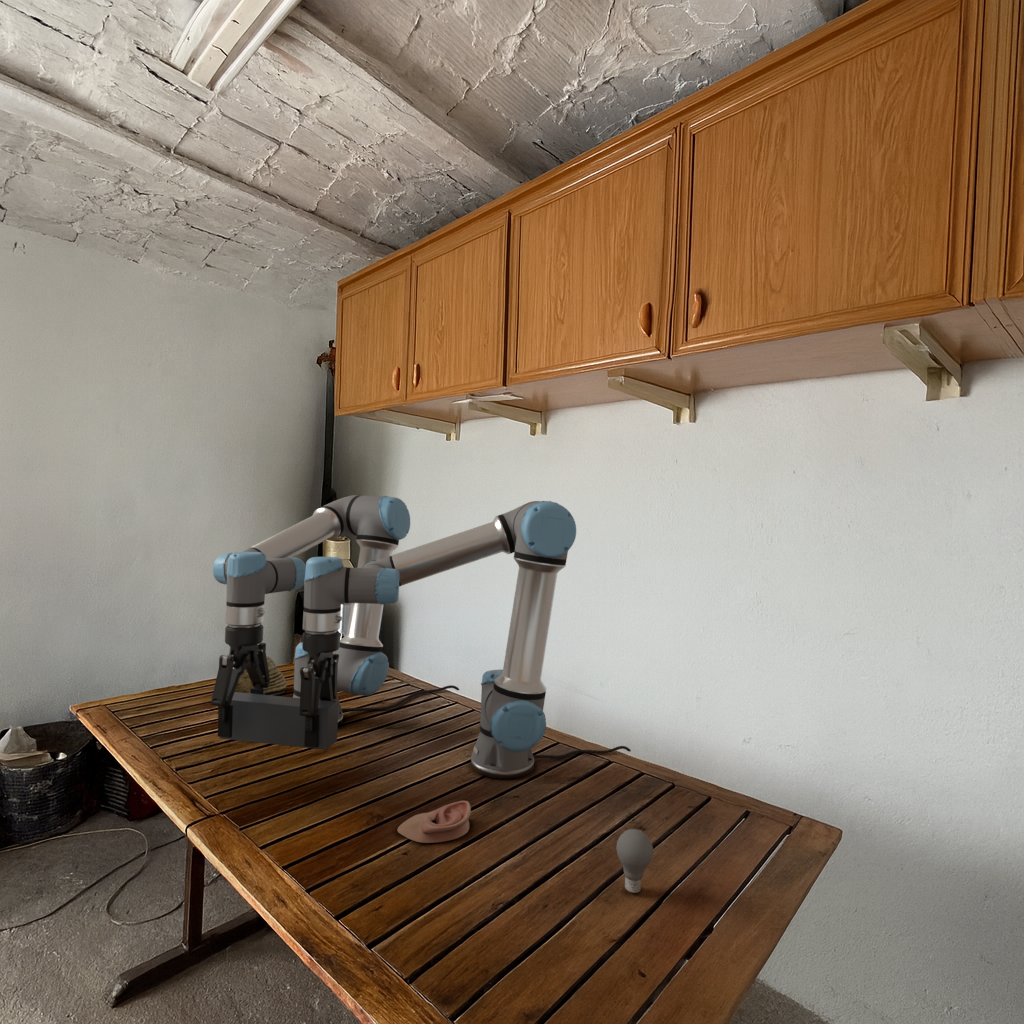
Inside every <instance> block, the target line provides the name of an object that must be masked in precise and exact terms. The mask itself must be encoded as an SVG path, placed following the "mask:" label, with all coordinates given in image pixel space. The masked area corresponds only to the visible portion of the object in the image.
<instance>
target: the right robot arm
mask: <svg viewBox="0 0 1024 1024" xmlns="http://www.w3.org/2000/svg"><path fill="white" fill-rule="evenodd" d="M576 537H577V524H576V521H575V518H574V517H573V515H572V513H571V512H570V511H569V510H568V509H567V508H566V507H565V506H563V505H562V504H560V503H558V502H555V501H551V500H534V501H533V500H532V501H529V502H525V503H524V504H522V505H520V506H518V507H516V508H514V509H511V510H509V511H507V512H504V513H502V514H499V515H495V517H494V519H493V520H492V521H491V522H488V523H485V524H481V525H479V526H475V527H472V528H470V529H467V530H464V531H461V532H457V533H454V534H452V535H449V536H445V537H442V538H440V539H437V540H434V541H431V542H428V543H425V544H422V545H419V546H416V547H412V548H410V549H406V550H404V551H400V552H397V553H394V554H391V556H389V557H385V558H382V559H379V560H372V561H369V562H367V563H366V564H365V565H363V566H362V567H361V568H357V567H347V566H344V562H343V559H342V558H340V557H337V556H313V557H310V558H308V559H307V561H306V562H305V565H306V570H305V579H304V585H303V615H302V630H303V631H304V632H303V633H302V649H303V650H304V651H306V652H308V653H309V657H308V661H307V666H306V668H304V667H301V669H300V676H301V690H300V713H299V714H300V716H305V741H304V746H305V747H314V748H317V747H318V741H319V715H317V712H318V705H319V698H320V700H324V701H333V699H336V698H337V695H338V691H337V675H338V661H339V654H333V652H334V651H336V650H338V649H339V647H340V640H341V633H340V631H339V630H340V629H341V621H342V620H343V617H342V616H341V615H342V614H341V613H342V612H341V611H342V604H352V603H369V604H381V605H383V604H384V605H385V604H387V605H389V604H396V603H398V601H399V599H400V598H399V597H400V587H402V586H406V585H408V584H411V583H414V582H417V581H420V580H423V579H425V578H429V577H433V576H435V575H438V574H441V573H444V572H446V571H450V570H453V569H456V568H458V567H461V566H464V565H467V564H472V563H475V562H477V561H479V560H482V559H486V558H488V557H491V556H494V555H498V554H500V553H504V554H506V555H511V554H513V559H514V561H515V562H516V564H517V566H518V573H517V578H516V584H515V589H514V590H515V591H514V597H513V603H512V609H511V615H510V622H509V630H508V636H507V642H506V649H505V655H504V661H503V667H502V669H491V670H487V671H485V672H484V673H483V674H482V677H481V683H480V686H481V694H480V695H481V698H480V715H479V716H480V717H479V720H480V721H479V733H478V736H477V739H476V742H475V745H474V746H473V750H472V753H471V756H470V767H471V769H472V770H473V771H474V772H476V773H477V774H479V775H481V776H484V777H487V778H491V779H498V780H499V779H500V780H501V779H502V780H512V779H518V778H522V777H524V776H527V775H529V774H531V773H532V772H533V770H534V769H535V759H552V760H553V759H554V760H555V759H557V760H558V759H563V758H567V757H570V756H572V755H575V754H585V753H586V754H610V753H613V752H615V751H618V750H625V751H627V752H629V753H630V752H632V750H631V749H630V748H629V747H628V746H625V745H619V746H616V747H613V748H610V749H605V750H600V749H599V750H598V749H597V750H596V749H594V750H593V749H576V750H572V751H569V752H568V753H564V754H559V755H553V754H551V755H549V754H533V750H532V748H534V747H535V746H537V745H538V744H539V743H540V742H541V741H542V740H543V738H544V735H545V733H546V729H547V721H546V720H547V718H546V713H545V712H544V707H545V701H546V693H547V686H546V685H545V683H544V681H542V676H543V675H542V674H543V669H544V662H545V655H546V650H547V643H548V642H547V641H548V635H549V630H550V624H551V623H550V622H551V619H552V612H553V611H552V610H553V604H554V597H555V592H556V591H555V590H556V584H557V578H558V573H559V572H560V571H561V570H563V569H565V567H566V566H567V559H568V553H569V551H570V549H571V548H572V546H573V545H574V543H575V540H576ZM384 605H383V606H384ZM315 677H318V678H315ZM334 702H337V701H334Z"/></svg>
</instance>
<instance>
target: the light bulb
mask: <svg viewBox="0 0 1024 1024" xmlns="http://www.w3.org/2000/svg"><path fill="white" fill-rule="evenodd" d="M615 849H616V854H617V857H618V859H619V861H620V863H621V865H622V867H623V873H624V874H623V875H624V876H625V878H624V888H625V890H627V891H628V892H630V893H634V894H635V893H639V892H640V891H641V889H642V887H641V886H642V879H643V877H644V875H645V871H646V868H647V867H648V866H649V864H650V863H651V861H652V859H653V855H654V847H653V843H652V841H651V838H649V836H648V835H647V834H646V833H645V832H643V831H642V830H641V829H636V828H629V829H627V830H625V831H623V832H622V833H621V834H620V835H619V837H618V839H617V841H616V847H615Z"/></svg>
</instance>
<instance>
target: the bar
mask: <svg viewBox="0 0 1024 1024" xmlns="http://www.w3.org/2000/svg"><path fill="white" fill-rule="evenodd" d="M230 705H233V722H232V737H230V738H226V737H219V739H220V740H221V739H222V740H231V741H241V742H248V743H249V742H250V743H260V744H269V745H277V746H286V747H295V748H304V749H305V748H306V749H314V750H323V751H327V750H328V749H330V748H331V747H332V746H333V745H334V744H336V743H337V742H338V727H339V726H338V702H334V701H324V700H319V705H318V712H317V715H319V741H318V747H317V748H314V747H305V746H304V741H305V716H300V714H299V713H300V698H293V697H291V696H281V695H261V694H251V693H240V692H234V695H233V698H232V701H231V704H230Z"/></svg>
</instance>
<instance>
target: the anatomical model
mask: <svg viewBox="0 0 1024 1024" xmlns="http://www.w3.org/2000/svg"><path fill="white" fill-rule="evenodd" d="M471 813H472V808H471V804H470V802H469V801H468V800H459V801H454V802H451V803H449V804H446V805H442V806H441V807H439V808H436V809H434V810H432V811H429V812H421V813H417V814H415V815H413V816H411V817H409V818H407V819H406V820H405V821H403V822H402V823H401V824H400V825H399V826H398V827H397V829H396V830H397V833H398V834H400V835H401V836H403V837H404V838H406V839H408V840H410V841H414V842H416V843H419V844H434V843H443V842H448V841H452V840H456V839H459V838H461V837H463V836H465V835H466V834H467V833H469V830H470V821H469V819H470V817H471Z"/></svg>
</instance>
